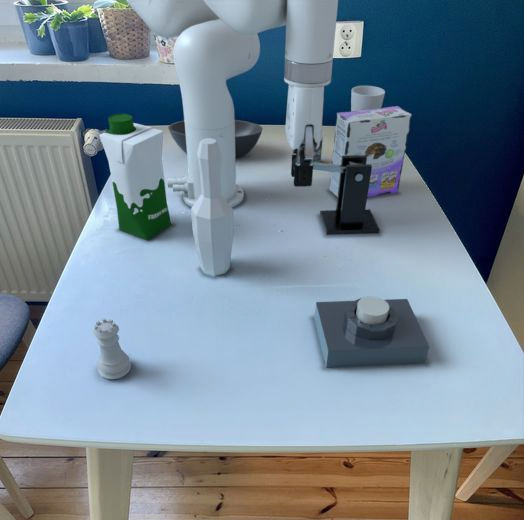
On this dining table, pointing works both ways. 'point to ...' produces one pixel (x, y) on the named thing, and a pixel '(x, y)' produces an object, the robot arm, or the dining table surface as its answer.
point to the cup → (366, 98)
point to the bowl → (244, 136)
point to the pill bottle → (318, 151)
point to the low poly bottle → (212, 213)
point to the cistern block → (369, 336)
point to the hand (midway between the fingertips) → (301, 180)
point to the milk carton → (137, 176)
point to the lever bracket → (351, 201)
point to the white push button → (372, 310)
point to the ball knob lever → (329, 166)
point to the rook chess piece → (110, 351)
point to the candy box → (373, 145)
